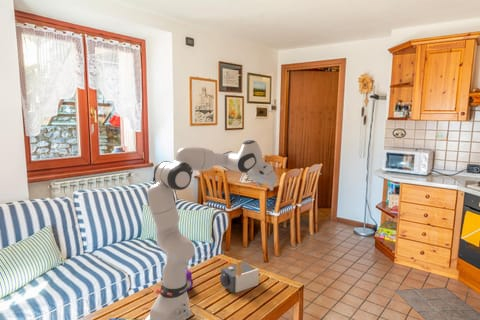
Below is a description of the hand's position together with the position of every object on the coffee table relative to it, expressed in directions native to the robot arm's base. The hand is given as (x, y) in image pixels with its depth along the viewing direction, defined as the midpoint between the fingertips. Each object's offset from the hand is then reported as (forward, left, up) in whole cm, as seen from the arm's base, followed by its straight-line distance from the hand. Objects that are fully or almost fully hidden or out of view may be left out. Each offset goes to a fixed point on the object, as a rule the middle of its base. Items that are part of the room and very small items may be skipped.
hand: (266, 188), depth 182 cm
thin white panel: (-15, +3, -53) cm, 55 cm away
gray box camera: (-13, +9, -53) cm, 56 cm away
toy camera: (-31, +34, -53) cm, 71 cm away
